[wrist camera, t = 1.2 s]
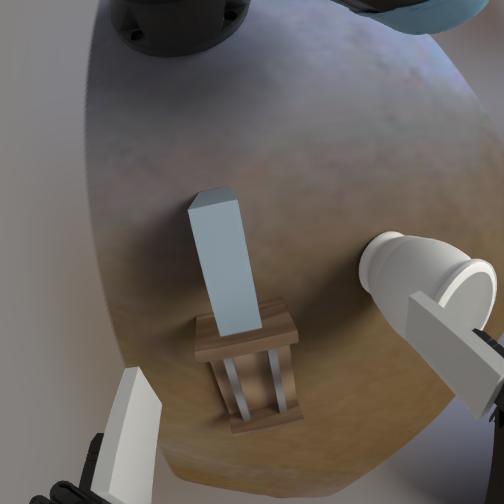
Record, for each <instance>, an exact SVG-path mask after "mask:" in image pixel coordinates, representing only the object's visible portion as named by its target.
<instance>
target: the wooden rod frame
mask: <svg viewBox="0 0 504 504" xmlns="http://www.w3.org/2000/svg"><path fill="white" fill-rule="evenodd" d="M258 309H259V314H260V319H261V324H262V328H259V329H254V330H250V331H245V332H240V333H235V334H231V335H226V336H220V333H219V330H218V326H217V323H216V319H215V316H214V313H209V314H204V315H198V316H197V318H196V330H195V342H194V354H195V357H196V359H197V362H198V364H199V363H205V362H210V363H211V365H212V368H213V371H214V374H215V377H216V379H217V382H218V385H219V387H220V390H221V393H222V395H223V398H224V401H225V403H226V406H227V408H228V411H229V413H230V421H231V431H232V436H233V438H236V437H242V436H248V435H253V434H258V433H263V432H268V431H273V430H277V429H281V428H285V427H289V426H293V425H297V424H301V423H304V418H303V415H302V412H301V409H300V407H299V404H298V401H297V397H296V389H295V381H294V373H293V366H292V358H291V351H290V344H294V343H298V342H299V337H298V330H297V328H296V326H295V324H294V322H293V320H292V318H291V316H290V314H289V312H288V310H287V308H286V306H285V304H284V302H283V300H282V298H278V299H274V300H270V301H265V302H261V303H258Z"/></svg>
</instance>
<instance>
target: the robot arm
mask: <svg viewBox="0 0 504 504" xmlns="http://www.w3.org/2000/svg"><path fill="white" fill-rule="evenodd" d="M250 1H251V0H111V20H112V23H113V26H114V28H115V30H116V32H117V33H118V34H119V36H120V37H121V38H122V40H123V41H124V42H125V43H126V44H127V45H128V46H130V47H131V48H133V49H135V50H137V51H139V52H141V53H144V54H148V55H152V56H161V57H174V56H183V55H189V54H193V53H197V52H200V51H203V50H206V49H208V48H210V47H213V46H215V45H217V44H218V43H220V42H222V41H224V40H225V39H226V38H228V37H229V36H230V35H232V34H233V33H234V32H235V31H236V30H237V29H238V28H239V26H240V25H241V24H242V22H243V21H244V19H245V17H246V15H247V12H248V9H249V5H250ZM331 1H333V2H336V3H338V4H341V5H343V6H345V7H348V8H349V10H350V11H352V12H353V13H355V14H358V15H360V16H365V17H369V18H372V19H374V20H376V21H378V22H380V23H382V24H384V25H386V26H388V27H390V28H392V29H394V30H397V31H399V32H402V33H406V34H411V35H422V34H425V33H427V34H436V33H440V32H444V31H447V30H450V29H452V28H455V27H457V26H459V25H461V24H463V23H465V22H467V21H468V20H470V19H471V18H472V17H474V16H475V15H476V14H478V13H479V12H480V11H481V10H482V9H483V8H484V7H485V6H486V4H487V3H488V2H489V0H331ZM405 339H406V340H407V341H408V343H409V344H410V345H411V346H412V347H413V348H414V349H415V350H416V351H417V352H418V353H419V354H420V355H421V357H422V358H423V359H424V360H425V361H426V362H427V363H428V364H429V365H430V366H431V368H432V369H433V370H434V371H435V372H436V373H437V374H438V375H439V377H440V378H441V379H442V380H443V381H444V382H445V383H446V385H447V386H448V387H449V388H450V389H451V390H452V391H453V393H454V394H455V395H456V396H457V397H458V398H459V400H460V401H461V402H462V403H463V404H464V405H465V407H466V408H467V409H468V410H469V412H470V413H471V414H472V415H473V416H474V418H475V419H476V420H479V419H480V418H481V417H483V416H484V415H485V414H486V413H488V412H489V410H490V409H491V407H492V405H493V403H495V404H496V405H497V407H496V409H495V410H494V412H493V414H492V415H491V417H490V419H489V422H491V421H492V419H493V418H494V416H495V420H494V422H495V432H494V446H493V457H492V465H491V472H490V478H489V484H488V489H487V495H486V499H485V503H484V504H504V348H503V347H502V346H501V345H500V344H498V343H497V342H496V341H495V340H494V339H492V338H491V337H490V336H489V335H488V334H487V333H485V332H484V331H481V330H479V329H476V328H475V329H473V330H470V329H469V328H468V327H466V326H465V325H464V324H463V323H462V322H460V321H459V320H458V319H457V318H455V317H454V316H453V315H452V314H450V313H449V312H448V311H446V310H445V309H444V308H443V307H441V306H440V305H439V304H437V303H436V302H435V301H434V300H432V299H431V298H430V297H428V296H427V295H426V294H424V293H423V292H422V291H418V292H416V293H413V294H411V295H409V301H408V314H407V324H406V333H405ZM161 408H162V404H161V402H160V401H159V399H158V397H157V396H156V394H155V393H154V391H153V389H152V388H151V386H150V385H149V383H148V381H147V380H146V378H145V376H144V375H143V373H142V371H141V369H140V368H139V367H132V368H125V370H124V373H123V376H122V379H121V382H120V385H119V388H118V391H117V394H116V397H115V400H114V403H113V406H112V410H111V413H110V416H109V419H108V423H107V427H106V430H105V433H97V434H96V436H95V437H94V438H93V440H92V441H91V443H90V447H89V450H88V454H87V458H86V461H85V465H84V468H83V472H82V476H81V480H80V484H79V488H77V487H76V486H74V485H73V484H72V483H70V482H68V481H59V482H57V483H56V484H55V485H53V487H52V488H51V490H50V500H51V501H50V500H49V499H47V498H46V497H44V496H42V495H37V496H35V497H33V498H32V499H31V501H30V503H29V504H151V495H152V483H153V472H154V463H155V454H156V445H157V437H158V429H159V422H160V415H161Z"/></svg>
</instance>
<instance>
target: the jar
mask: <svg viewBox="0 0 504 504" xmlns="http://www.w3.org/2000/svg"><path fill="white" fill-rule="evenodd" d="M359 279H360V282H361V285H362V286H363V288H364V289H365V290H366V291H367V292H369V293H370V294H371V296H372V298H373V300H374V302H375V303H376V305H377V306H378V308H379V309H380V311H381V312H382V314H383V316H384V317H385V319H386V320H387V322H388V323H389V324H390V325H391V327H392V328H393V329H394V330H395V331H396V332H397V333H398V334H399V335H400V336H401V337H403V338H404V339H405V333H406V324H407V314H408V301H409V295H411V294H413V293H416V292H418V291H422V292H423V293H424V294H426V295H427V296H428V297H430V298H431V299H432V300H434V301H435V302H436V303H437V304H439V305H440V306H441V307H443V308H444V309H445V310H446V311H448V312H449V313H450V314H452V315H453V316H454V317H455V318H457V319H458V320H459V321H460V322H462V323H463V324H464V325H465V326H466V327H468V328H469V329H470V330H473V329H475V328H476V329H479V330H481V331H482V330H483V328H484V326H485V324H486V322H487V320H488V318H489V316H490V313H491V311H492V308H493V305H494V301H495V297H496V290H497V278H496V273H495V270H494V268H493V266H492V265H491V264H490V263H488V262H486V261H484V260H481V259H471V258H470V257H468V256H467V255H466V254H465V253H463V252H462V251H460V250H459V249H457V248H455V247H453V246H451V245H449V244H447V243H445V242H442V241H439V240H435V239H430V238H422V237H417V236H403V235H402V234H400V233H398V232H392V231H391V232H385V233H382V234H380V235H378V236H377V237H375V238H374V239H373V240H372V241H371V242H370V243H369V244H368V246H367V247H366V249H365V250H364V252H363V254H362V257H361V259H360V263H359ZM405 340H406V339H405ZM406 341H407V340H406Z"/></svg>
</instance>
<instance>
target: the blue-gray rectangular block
mask: <svg viewBox="0 0 504 504" xmlns="http://www.w3.org/2000/svg"><path fill="white" fill-rule="evenodd" d="M188 213H189V218H190V222H191V226H192V231H193V235H194V239H195V243H196V247H197V251H198V255H199V259H200V263H201V267H202V271H203V275H204V279H205V283H206V286H207V290H208V294H209V298H210V301H211V305H212V309H213V312H214V316H215V319H216V323H217V326H218V330H219V333H220V336H226V335H231V334H235V333H240V332H245V331H250V330H254V329H259V328H262V324H261V319H260V314H259V309H258V303H257V298H256V293H255V288H254V283H253V278H252V273H251V268H250V263H249V257H248V252H247V247H246V242H245V237H244V232H243V227H242V221H241V216H240V211H239V206H238V201H237V198H236V197H235V195H234V194H233V193H232V191H231V190H230V188H229V187H228V186H226V187H221V188H217V189H212V190H207V191H203V192H199V193H198V195H197V196H196V198H195V199H194V201H193V202H192V204H191V206H190V207H189V209H188Z"/></svg>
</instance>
